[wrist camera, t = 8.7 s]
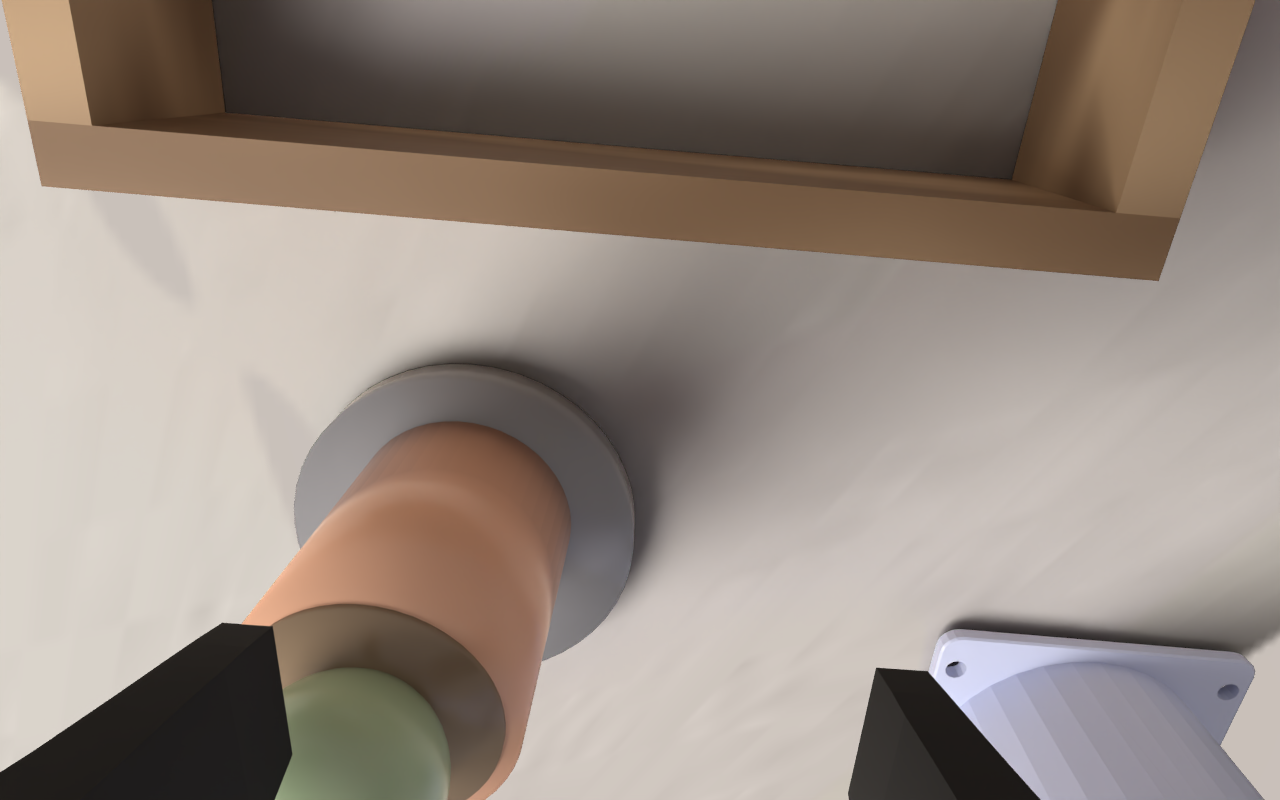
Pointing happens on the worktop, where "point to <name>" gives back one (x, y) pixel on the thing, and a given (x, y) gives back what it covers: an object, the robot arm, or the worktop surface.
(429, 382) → the saucer
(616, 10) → the worktop surface
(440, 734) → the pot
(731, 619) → the worktop surface
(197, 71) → the tray
